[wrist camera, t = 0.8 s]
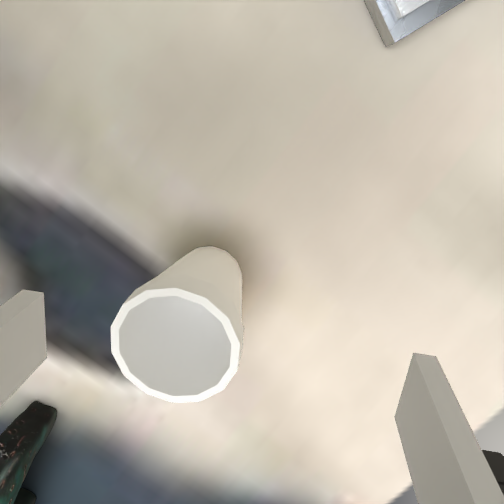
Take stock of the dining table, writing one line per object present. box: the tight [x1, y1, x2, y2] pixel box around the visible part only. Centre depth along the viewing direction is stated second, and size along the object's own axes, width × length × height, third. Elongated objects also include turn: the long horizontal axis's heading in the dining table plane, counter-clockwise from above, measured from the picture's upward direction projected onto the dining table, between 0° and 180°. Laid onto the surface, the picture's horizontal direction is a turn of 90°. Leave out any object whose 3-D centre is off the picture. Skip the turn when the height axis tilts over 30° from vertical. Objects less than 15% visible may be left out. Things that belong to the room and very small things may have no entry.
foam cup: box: [111, 246, 244, 403], centre depth 38 cm, size 10×9×13 cm
